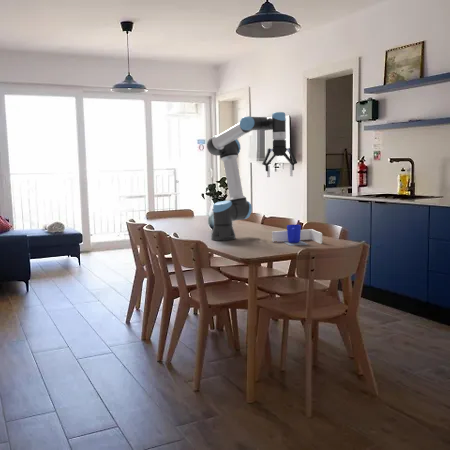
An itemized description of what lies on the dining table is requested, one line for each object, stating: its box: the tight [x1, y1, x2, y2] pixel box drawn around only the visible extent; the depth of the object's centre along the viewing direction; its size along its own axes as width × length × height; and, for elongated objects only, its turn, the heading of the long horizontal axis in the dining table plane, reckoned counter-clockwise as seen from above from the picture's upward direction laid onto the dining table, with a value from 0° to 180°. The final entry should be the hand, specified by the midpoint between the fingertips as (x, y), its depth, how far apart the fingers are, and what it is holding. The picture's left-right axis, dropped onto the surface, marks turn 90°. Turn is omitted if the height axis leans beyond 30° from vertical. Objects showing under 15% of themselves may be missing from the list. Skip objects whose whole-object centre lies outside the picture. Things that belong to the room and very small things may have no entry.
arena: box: [271, 228, 323, 245], centre depth 310 cm, size 25×17×6 cm
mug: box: [286, 224, 302, 243], centre depth 307 cm, size 8×12×10 cm
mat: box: [281, 240, 309, 247], centre depth 308 cm, size 11×15×1 cm
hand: (279, 176), depth 306 cm, fingers open, 13 cm apart
